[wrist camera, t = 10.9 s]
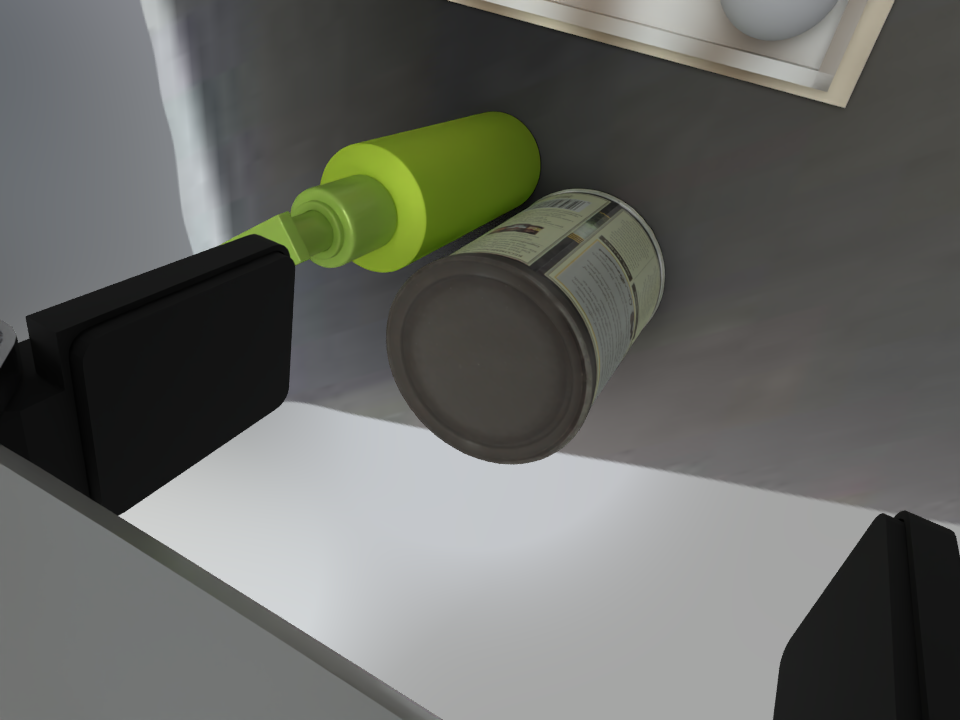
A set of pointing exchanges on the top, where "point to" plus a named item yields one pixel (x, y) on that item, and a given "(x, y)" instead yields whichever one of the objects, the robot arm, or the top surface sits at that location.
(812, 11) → the grey ball
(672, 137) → the top surface
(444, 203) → the soap dispenser
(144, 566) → the robot arm
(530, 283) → the coffee can
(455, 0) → the trough board
